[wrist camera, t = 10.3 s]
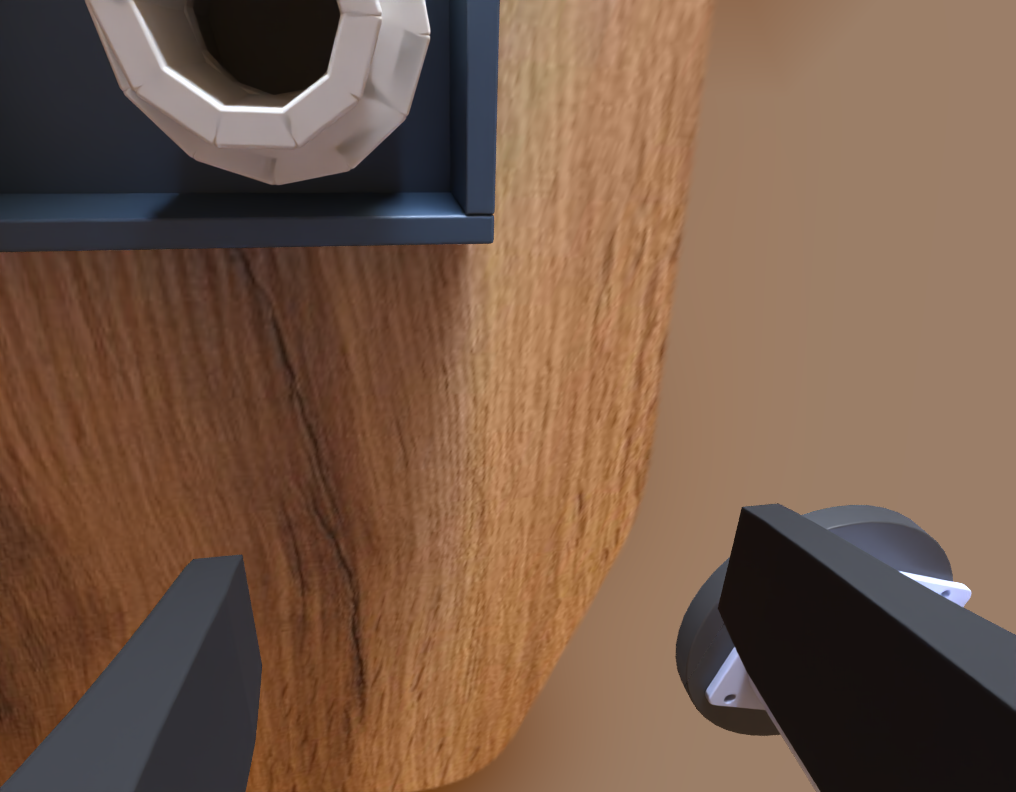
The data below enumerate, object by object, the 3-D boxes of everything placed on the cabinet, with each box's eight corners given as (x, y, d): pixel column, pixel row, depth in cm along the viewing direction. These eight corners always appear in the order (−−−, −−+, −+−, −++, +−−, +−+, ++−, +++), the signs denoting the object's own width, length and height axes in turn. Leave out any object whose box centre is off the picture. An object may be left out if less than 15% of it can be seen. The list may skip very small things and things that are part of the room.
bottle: (424, -38, 14) (501, -132, 6) (369, 159, 15) (384, 262, 8) (212, -135, 12) (16, -387, 5) (177, 92, 14) (-16, 140, 7)
